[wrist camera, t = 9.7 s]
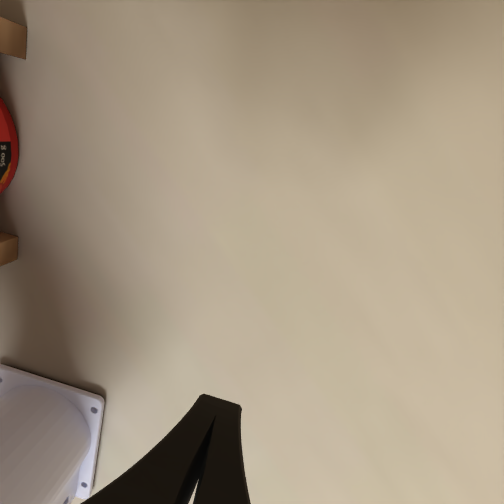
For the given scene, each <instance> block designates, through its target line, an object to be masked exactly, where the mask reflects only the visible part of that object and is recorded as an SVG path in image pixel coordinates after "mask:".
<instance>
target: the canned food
mask: <svg viewBox="0 0 504 504" xmlns="http://www.w3.org/2000/svg"><path fill="white" fill-rule="evenodd" d="M18 154H19V153H18V139H17V134H16V130H15V126H14V123H13V120H12V118H11V115H10V113H9V111H8V109H7V107H6V105H5V104H4V102H3V100H2V99H1V97H0V194H1V193H2V192H3V191H4V190H5V189H6V188H7V187H8V185H9V184H10V182H11V180H12V179H13V177H14V174H15V171H16V168H17V162H18Z"/></svg>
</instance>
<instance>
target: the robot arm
mask: <svg viewBox="0 0 504 504" xmlns="http://www.w3.org/2000/svg"><path fill="white" fill-rule="evenodd" d="M104 404H105V402H104V399H103V398H102V397H101V396H99V395H97V394H93V393H90V392H87V391H84V390H81V389H78V388H75V387H72V386H68V385H65V384H62V383H59V382H56V381H53V380H50V379H47V378H43V377H40V376H37V375H34V374H31V373H28V372H25V371H22V370H18V369H15V368H12V367H9V366H6V365H2V364H0V504H70V503H71V502H72V500H73V499H74V497H78V498H81V499H87V500H86V501H84V502H83V503H81V504H188V503H189V501H190V498H191V496H192V494H193V491H194V489H195V486H196V484H197V482H198V484H197V488H196V493H195V497H194V502H193V504H251V503H250V498H249V494H248V488H247V483H246V477H245V471H244V463H243V455H242V445H241V411H242V408H241V406H240V405H238V404H235V403H232V402H229V401H226V400H222V399H219V398H216V397H213V396H210V395H206V394H202V395H200V396H199V398H198V399H197V401H196V402H195V403H194V405H193V406H192V407H191V409H190V410H189V411H188V412H187V414H186V415H185V416H184V417H183V418H182V419H181V421H180V422H179V423H178V424H177V425H176V426H175V427H174V428H173V429H172V430H171V431H170V432H169V433H168V434H167V435H166V436H165V437H164V438H163V439H162V440H161V441H160V442H159V443H158V444H157V445H156V446H155V447H154V448H153V449H152V450H150V451H149V452H148V453H147V454H146V455H145V456H144V457H143V458H142V459H140V460H139V461H138V462H137V463H136V464H135V465H133V466H132V467H131V468H130V469H128V470H127V471H126V472H125V473H123V474H122V475H121V476H120V477H118V478H117V479H116V480H114V481H113V482H111V483H110V484H109V485H107V486H106V487H104V488H103V489H102V490H100V491H99V492H98V493H96V494H95V495H93V496H92V497H90V495H91V493H92V487H93V480H94V474H95V467H96V460H97V453H98V446H99V439H100V432H101V425H102V418H103V411H104ZM94 407H95V408H97V409H95V408H94ZM198 479H199V480H198ZM89 497H90V498H89ZM88 498H89V499H88Z"/></svg>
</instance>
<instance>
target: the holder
mask: <svg viewBox="0 0 504 504" xmlns="http://www.w3.org/2000/svg"><path fill="white" fill-rule="evenodd" d="M26 38H27V27H24V26H22V25H19V24H17V23H14V22H12V21H9V20H7V19H4V18H2V17H0V53H3V54H7V55H11V56H15V57H19V58H23V59H26ZM17 253H18V237H17V236H14V235H10V234H7V233H3V232H0V266H2V265H4V264H7V263H9V262H12V261H14V260H17Z"/></svg>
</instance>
